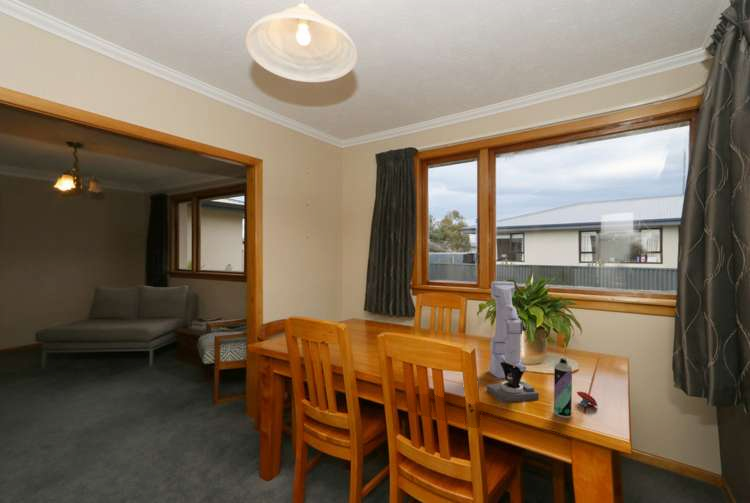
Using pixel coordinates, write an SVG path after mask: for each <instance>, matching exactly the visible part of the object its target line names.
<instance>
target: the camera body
mask: <svg viewBox="0 0 750 503" xmlns="http://www.w3.org/2000/svg"><path fill="white" fill-rule="evenodd" d="M486 390H487V393H489V394H490V395H492V396H493V397H494V398H496V399H497V400H498V401H500V402H501V403H510V402H521V401H522V402H523V401H530V400H531V401H533V400H539V398H540V397H539V395H540V392H538V391H537V390H535V387H533V385H531V384H528V383H527V382H525V381H524V380H523V379H520V383H519V388H511V387H507V381H506V380H505V381H503V382H502V383H493V384H492V383H491V384H487V385H486Z"/></svg>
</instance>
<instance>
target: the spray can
mask: <svg viewBox="0 0 750 503" xmlns="http://www.w3.org/2000/svg"><path fill="white" fill-rule="evenodd" d="M567 361H568V360H567V359H566V358H564V357H561V358H560V360H559V361H558V362H555V363H554V369H553V370H554V371H553V372H554V375H553V376H554V382H553V384H554V389H553V406H554V407H553V413H554V415H555V416H557V417H559V418H562V419H571V418H572V416H573V415H572V409H573V408H572V407H573V406H572V404H573V403H572V402H573V397H572V396H573V395H572V394H573V392H572V391H573V368H572V365H570V364H569V362H567Z"/></svg>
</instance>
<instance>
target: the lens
mask: <svg viewBox="0 0 750 503" xmlns="http://www.w3.org/2000/svg"><path fill="white" fill-rule="evenodd" d="M507 387H511V388H519V386H514V385H513V380H512V373H511V371H510V372H507Z"/></svg>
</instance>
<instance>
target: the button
mask: <svg viewBox="0 0 750 503" xmlns="http://www.w3.org/2000/svg"><path fill="white" fill-rule="evenodd" d="M576 394H577V395H578V397H580V398H581V399H582V400H580V405H581V407H585V408H587V407H588V404H590V405H592V406H595V407H597V408H598V402H597V401H596V400H595V398H594V397H593V396H591V395H590V394H588V393H587V392H584V391H576Z"/></svg>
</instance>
